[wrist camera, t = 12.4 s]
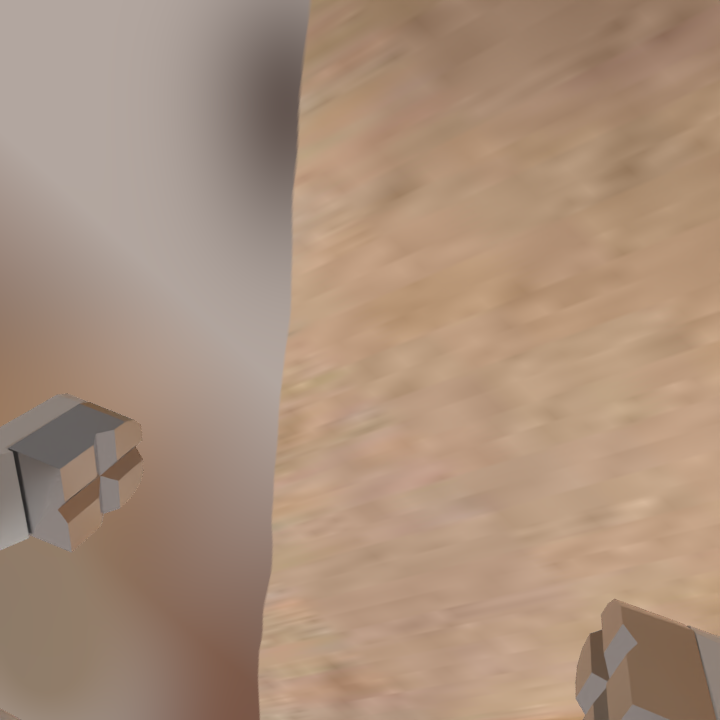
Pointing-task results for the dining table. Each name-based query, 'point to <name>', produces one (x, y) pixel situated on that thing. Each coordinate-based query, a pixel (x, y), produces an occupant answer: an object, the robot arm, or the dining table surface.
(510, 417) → the dining table surface
